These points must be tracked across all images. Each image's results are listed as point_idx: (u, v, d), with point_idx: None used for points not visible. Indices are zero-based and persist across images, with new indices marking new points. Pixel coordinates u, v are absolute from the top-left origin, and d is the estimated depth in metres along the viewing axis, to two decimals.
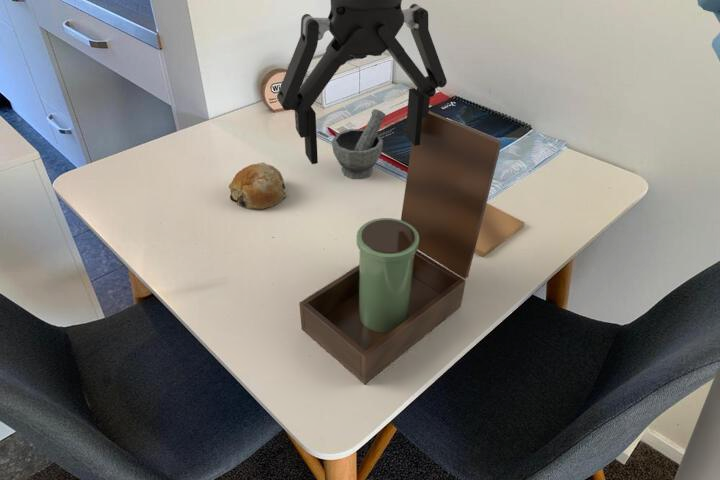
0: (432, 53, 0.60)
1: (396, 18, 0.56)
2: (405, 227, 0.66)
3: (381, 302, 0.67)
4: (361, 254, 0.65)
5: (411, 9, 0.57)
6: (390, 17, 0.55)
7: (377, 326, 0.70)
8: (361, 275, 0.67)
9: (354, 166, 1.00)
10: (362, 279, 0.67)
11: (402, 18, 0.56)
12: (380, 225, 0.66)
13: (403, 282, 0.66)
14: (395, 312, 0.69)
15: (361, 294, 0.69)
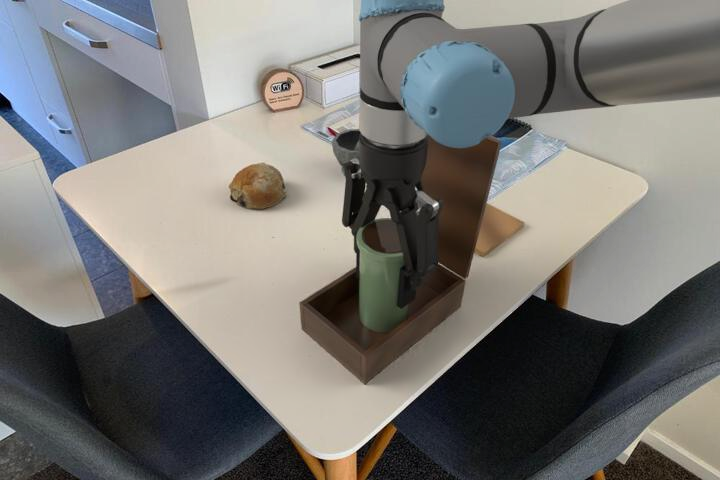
0: (421, 244, 0.59)
1: (405, 191, 0.57)
2: None
3: (381, 302, 0.67)
4: (361, 254, 0.65)
5: (428, 199, 0.57)
6: (399, 187, 0.57)
7: (377, 326, 0.70)
8: (361, 275, 0.67)
9: None
10: (362, 279, 0.67)
11: (410, 196, 0.57)
12: (380, 225, 0.66)
13: None
14: (395, 312, 0.69)
15: (361, 294, 0.69)
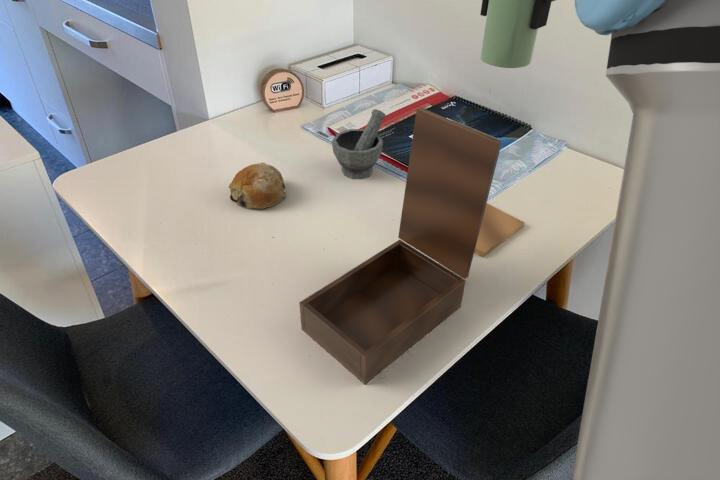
0: None
1: None
2: None
3: (515, 23, 0.67)
4: None
5: None
6: None
7: (505, 59, 0.69)
8: None
9: (354, 166, 1.00)
10: None
11: None
12: None
13: None
14: (526, 39, 0.68)
15: (490, 22, 0.68)
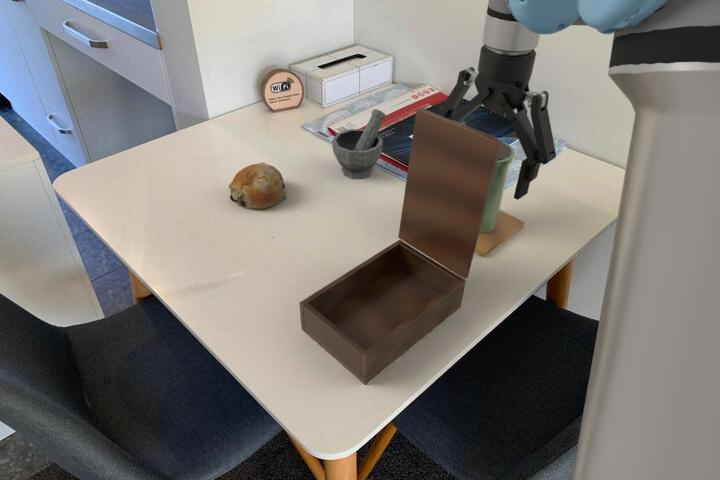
0: (538, 132, 0.73)
1: (515, 93, 0.73)
2: (502, 144, 0.83)
3: None
4: None
5: (535, 93, 0.72)
6: (511, 90, 0.73)
7: None
8: None
9: (354, 166, 1.00)
10: None
11: (520, 95, 0.73)
12: None
13: (500, 187, 0.83)
14: (491, 215, 0.86)
15: None
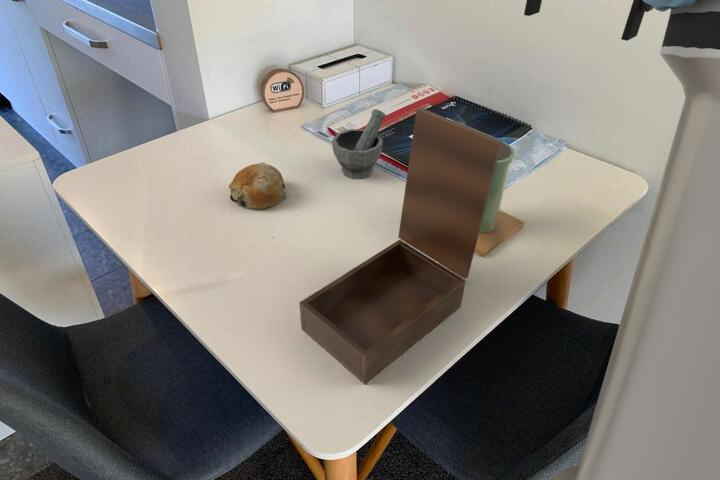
0: None
1: None
2: (502, 144, 0.83)
3: None
4: None
5: None
6: None
7: None
8: None
9: (354, 166, 1.00)
10: None
11: None
12: None
13: (500, 187, 0.83)
14: (491, 215, 0.86)
15: None
